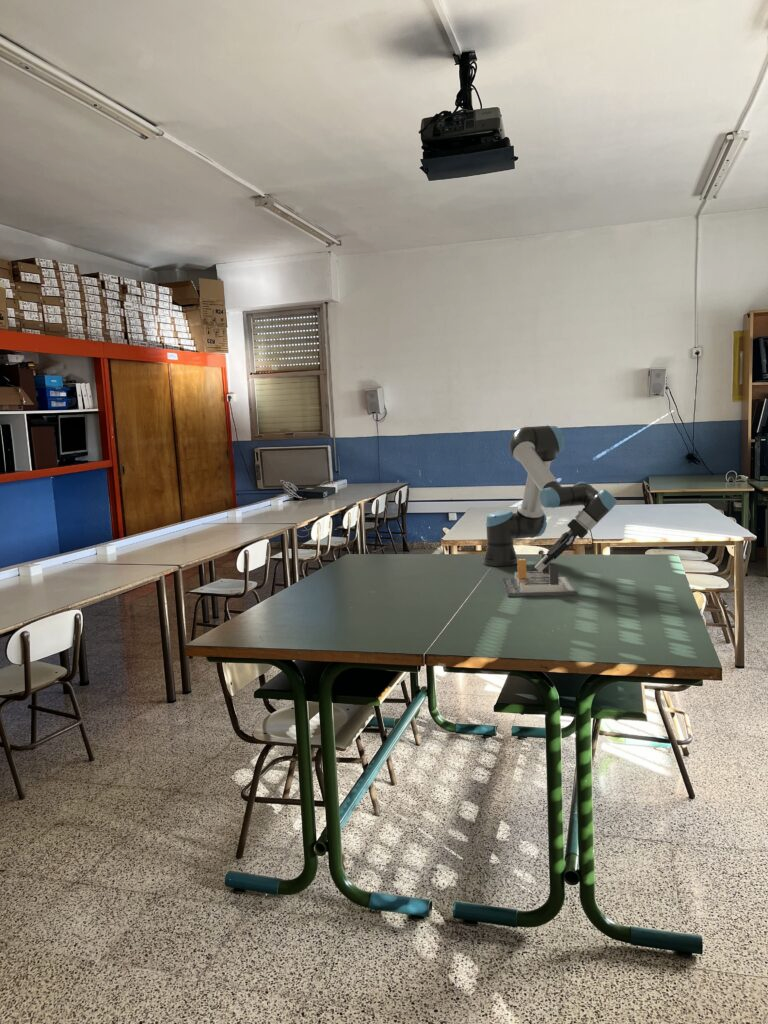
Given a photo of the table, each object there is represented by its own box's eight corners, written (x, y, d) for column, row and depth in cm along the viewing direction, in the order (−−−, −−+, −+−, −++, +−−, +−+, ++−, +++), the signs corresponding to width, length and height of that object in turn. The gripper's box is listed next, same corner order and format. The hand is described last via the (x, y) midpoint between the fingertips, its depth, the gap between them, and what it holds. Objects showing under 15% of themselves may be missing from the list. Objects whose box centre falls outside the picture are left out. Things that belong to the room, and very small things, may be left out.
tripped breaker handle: (517, 577, 286) (517, 559, 286) (525, 576, 286) (525, 558, 285) (518, 578, 284) (518, 560, 283) (526, 578, 284) (526, 560, 283)
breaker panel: (502, 582, 298) (501, 554, 297) (565, 580, 296) (565, 553, 295) (507, 596, 274) (507, 567, 272) (577, 595, 272) (577, 565, 270)
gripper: (571, 515, 287) (528, 559, 291) (577, 520, 274) (531, 566, 278) (585, 529, 287) (542, 572, 291) (592, 534, 274) (546, 579, 278)
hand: (537, 569), depth 284 cm, fingers closed
